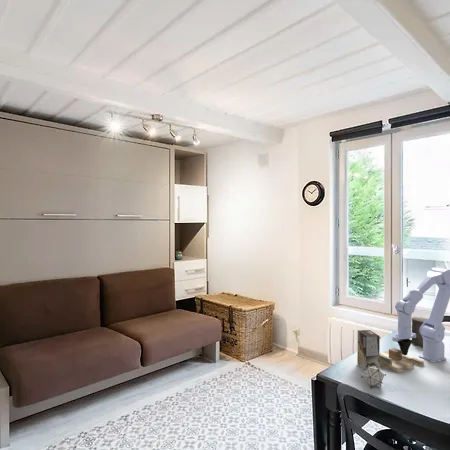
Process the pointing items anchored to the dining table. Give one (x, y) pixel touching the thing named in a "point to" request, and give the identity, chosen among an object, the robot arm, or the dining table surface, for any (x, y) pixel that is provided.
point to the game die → (373, 376)
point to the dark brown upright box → (417, 330)
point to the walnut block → (395, 354)
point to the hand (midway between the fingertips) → (404, 354)
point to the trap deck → (398, 362)
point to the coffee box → (368, 349)
